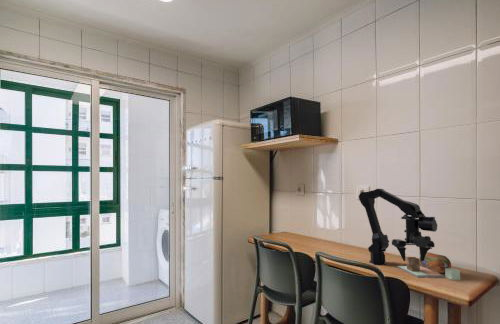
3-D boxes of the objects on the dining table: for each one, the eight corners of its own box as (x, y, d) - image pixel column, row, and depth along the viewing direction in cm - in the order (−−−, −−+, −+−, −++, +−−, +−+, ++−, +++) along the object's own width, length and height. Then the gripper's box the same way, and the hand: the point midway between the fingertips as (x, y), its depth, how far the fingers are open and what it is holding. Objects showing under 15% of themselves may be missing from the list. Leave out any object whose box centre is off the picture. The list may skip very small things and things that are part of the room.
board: (417, 277, 133) (417, 275, 133) (397, 267, 150) (397, 265, 150) (444, 277, 134) (444, 275, 134) (421, 267, 151) (421, 265, 151)
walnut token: (411, 271, 140) (411, 258, 140) (407, 269, 144) (406, 256, 144) (419, 271, 140) (419, 258, 140) (414, 269, 144) (414, 256, 144)
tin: (419, 266, 152) (419, 250, 152) (424, 266, 153) (423, 250, 153) (448, 275, 137) (447, 257, 138) (452, 274, 139) (452, 256, 139)
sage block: (451, 279, 131) (451, 270, 131) (445, 277, 135) (445, 268, 135) (460, 279, 131) (459, 270, 131) (453, 277, 135) (453, 268, 135)
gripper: (403, 231, 135) (404, 265, 134) (442, 231, 136) (443, 265, 134) (390, 227, 146) (391, 259, 145) (426, 228, 147) (427, 259, 146)
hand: (413, 260), depth 142 cm, fingers open, 9 cm apart
